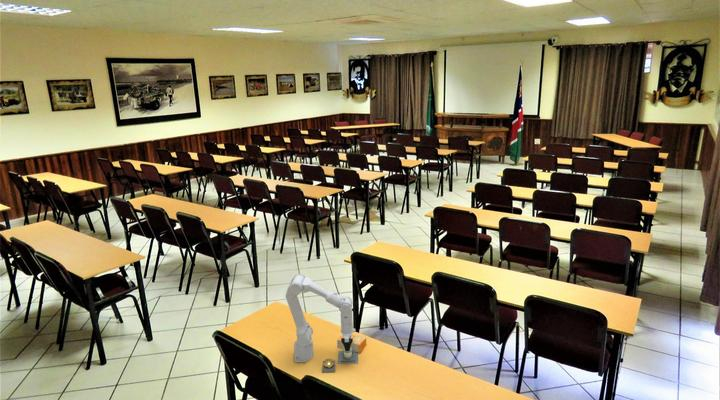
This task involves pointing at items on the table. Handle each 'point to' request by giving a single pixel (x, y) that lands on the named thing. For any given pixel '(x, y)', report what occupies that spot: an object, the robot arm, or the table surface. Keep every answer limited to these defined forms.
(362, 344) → the supplement box
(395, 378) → the table surface
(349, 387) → the table surface
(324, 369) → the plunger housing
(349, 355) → the cylinder
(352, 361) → the filter base
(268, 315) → the table surface
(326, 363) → the plunger
